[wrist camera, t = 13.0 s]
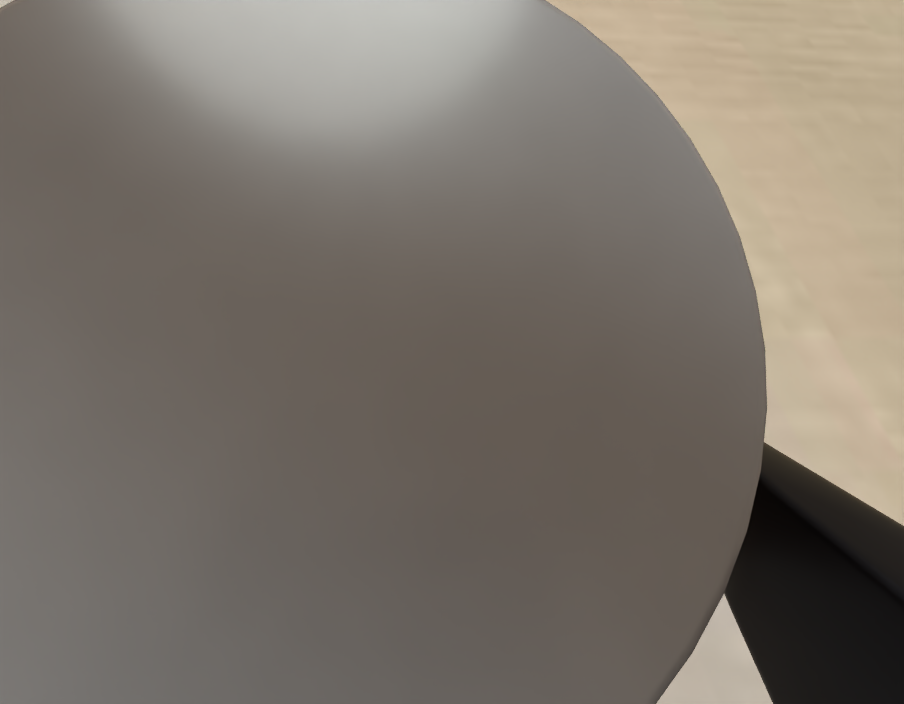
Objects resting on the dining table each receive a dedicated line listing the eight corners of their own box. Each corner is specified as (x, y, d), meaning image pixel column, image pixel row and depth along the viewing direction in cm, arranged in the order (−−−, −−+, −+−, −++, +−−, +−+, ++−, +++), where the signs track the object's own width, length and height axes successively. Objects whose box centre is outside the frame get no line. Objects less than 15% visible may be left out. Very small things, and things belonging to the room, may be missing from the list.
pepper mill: (399, 609, 15) (365, 1505, 2) (232, 467, 15) (-731, 415, 2) (531, 435, 16) (1056, 263, 3) (373, 307, 16) (260, -309, 3)
